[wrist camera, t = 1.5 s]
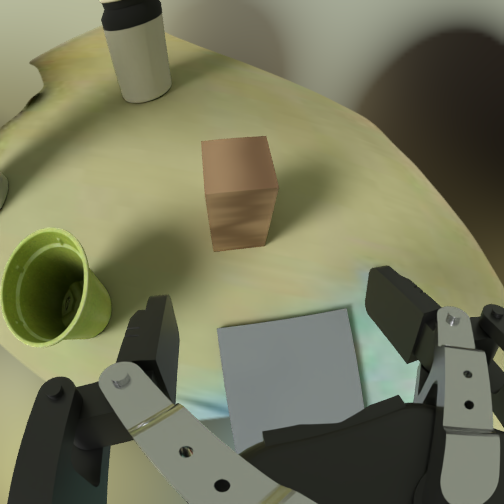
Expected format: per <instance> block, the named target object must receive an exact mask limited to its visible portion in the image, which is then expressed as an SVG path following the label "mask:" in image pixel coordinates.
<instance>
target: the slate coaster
mask: <svg viewBox="0 0 504 504" xmlns="http://www.w3.org/2000/svg"><path fill="white" fill-rule="evenodd" d="M217 333H218V341H219V348H220V356H221V363H222V370H223V377H224V383H225V390H226V396H227V403H228V409H229V415H230V421H231V427H232V433H233V438H234V444H235V450H236V453H237V454H239V453H241V452H242V451H244V450H245V449H247V448H249V447H251V446H253V445H255V444H257V443H260V442H262V441H263V436H262V431H267V430H273V429H278V428H284V427H289V426H294V425H299V424H327V423H339V422H342V421H344V420H346V419H347V418H349V417H351V416H353V415H354V414H356V413H358V412H359V411H361V410H363V409H364V404H363V397H362V390H361V384H360V377H359V371H358V365H357V359H356V354H355V348H354V343H353V338H352V333H351V328H350V323H349V318H348V313H347V308H345V309H340V310H335V311H330V312H324V313H319V314H313V315H307V316H301V317H295V318H289V319H283V320H277V321H270V322H263V323H256V324H249V325H241V326H233V327H225V328H217Z"/></svg>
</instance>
